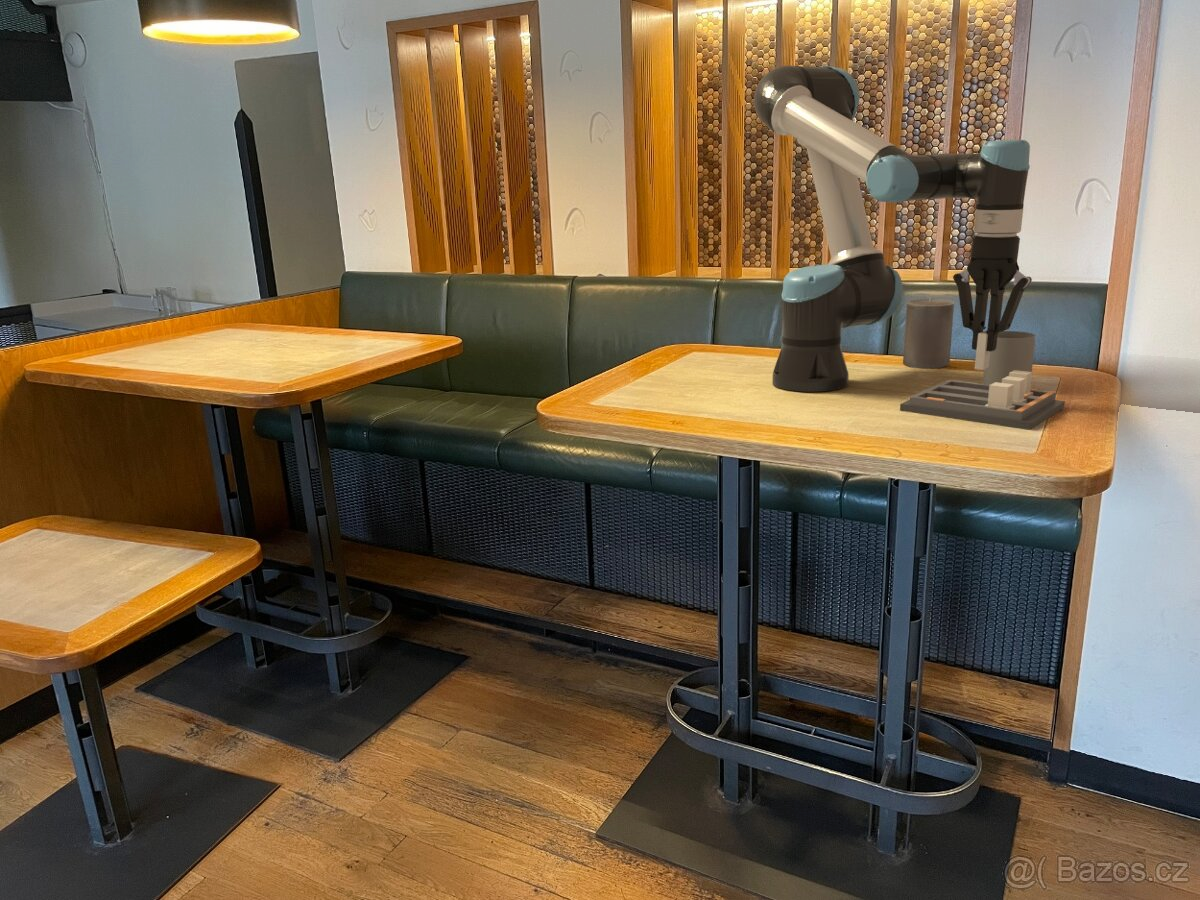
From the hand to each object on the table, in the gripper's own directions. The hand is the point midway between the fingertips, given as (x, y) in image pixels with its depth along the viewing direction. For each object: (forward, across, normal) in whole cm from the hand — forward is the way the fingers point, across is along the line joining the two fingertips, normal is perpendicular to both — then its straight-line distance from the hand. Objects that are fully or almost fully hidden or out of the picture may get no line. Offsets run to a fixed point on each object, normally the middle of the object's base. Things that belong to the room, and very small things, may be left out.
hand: (981, 367), depth 157 cm
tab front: (+5, +8, -11) cm, 14 cm away
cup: (+6, 0, +14) cm, 16 cm away
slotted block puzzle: (+6, +3, -6) cm, 9 cm away
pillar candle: (+7, -21, +25) cm, 34 cm away
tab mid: (+5, +8, -6) cm, 11 cm away
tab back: (+5, +7, 0) cm, 8 cm away
